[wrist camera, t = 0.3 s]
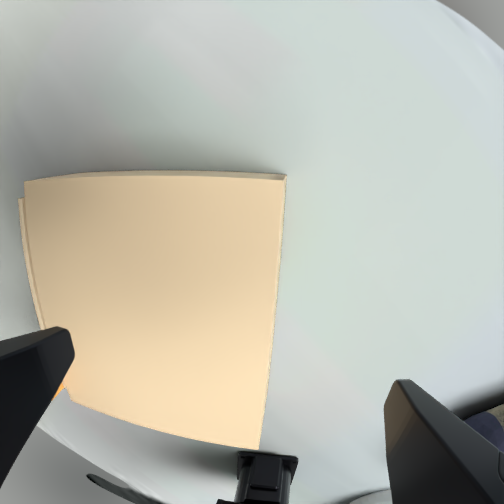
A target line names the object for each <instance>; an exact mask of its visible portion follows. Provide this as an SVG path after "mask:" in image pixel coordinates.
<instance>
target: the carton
mask: <svg viewBox="0 0 504 504" xmlns="http://www.w3.org/2000/svg"><path fill="white" fill-rule="evenodd" d="M286 177H287V175H283V174H269V173H252V172H232V171H200V170H133V171H103V172H83V173H75V174H67V175H61V176H54V177H48V178H41V179H35V180H30V181H24V194H25V209H26V221H27V230H28V239H29V246H30V253H31V260H32V266H33V271H34V277H35V282H36V287H37V292H38V296H39V301H40V305H41V309H42V313H43V317H44V321H45V325H46V328H47V329H48V328H52V327H55V326H59V327H62V328H65V329H67V330H69V332H70V334H71V338H72V342H73V346H74V350H75V358H74V361H73V363H72V364H71V366H70V368H69V370H68V372H67V374H66V375H65V377H64V379H63V380H64V383H65V386H66V388H67V391H68V393H69V396H70V398H71V400H72V401H73V402H76V403H78V404H80V405H83V406H85V407H88V408H91V409H93V410H96V411H98V412H101V413H104V414H107V415H109V416H112V417H115V418H118V419H121V420H124V421H127V422H130V423H133V424H137V425H140V426H143V427H147V428H150V429H154V430H158V431H161V432H165V433H169V434H173V435H177V436H181V437H186V438H190V439H195V440H200V441H205V442H210V443H215V444H221V445H227V446H233V447H240V448H247V449H255V450H258V449H259V443H260V437H261V430H262V424H263V418H264V411H265V405H266V398H267V391H268V382H269V373H270V364H271V354H272V345H273V335H274V325H275V315H276V304H277V293H278V282H279V271H280V259H281V246H282V234H283V220H284V207H285V192H286Z"/></svg>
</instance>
